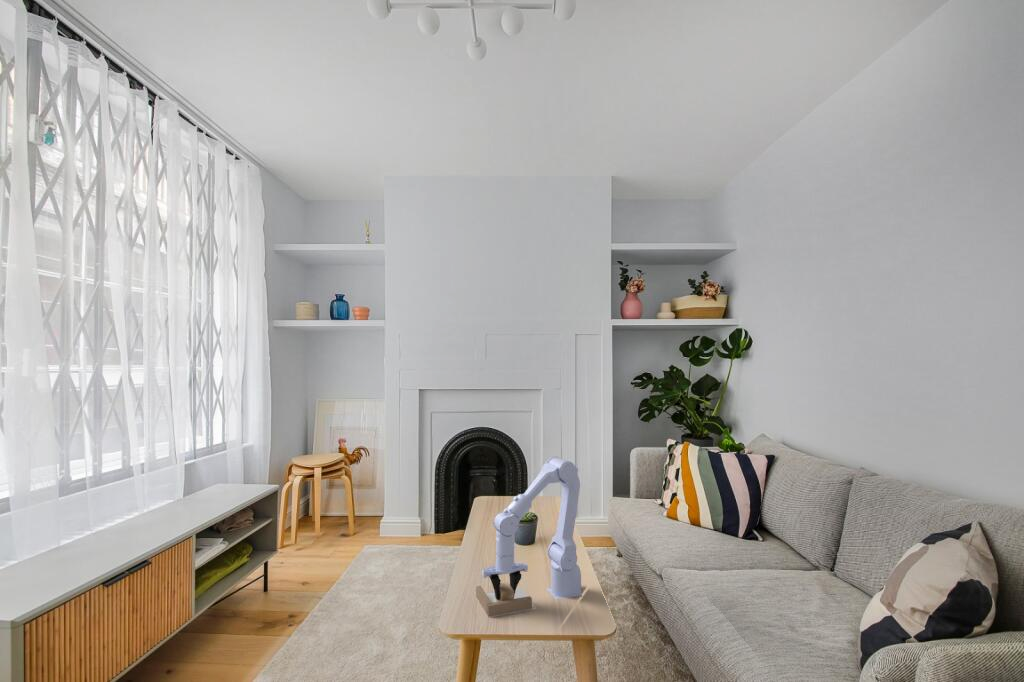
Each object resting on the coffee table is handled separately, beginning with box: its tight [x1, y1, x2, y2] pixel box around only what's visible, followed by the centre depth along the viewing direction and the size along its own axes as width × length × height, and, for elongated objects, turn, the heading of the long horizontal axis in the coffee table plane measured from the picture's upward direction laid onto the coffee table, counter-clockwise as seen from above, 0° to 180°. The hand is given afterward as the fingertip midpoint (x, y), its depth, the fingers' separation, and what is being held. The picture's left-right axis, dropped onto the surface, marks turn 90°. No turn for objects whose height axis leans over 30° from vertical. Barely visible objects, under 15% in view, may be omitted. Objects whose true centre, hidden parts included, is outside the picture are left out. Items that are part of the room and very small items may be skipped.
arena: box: [475, 585, 538, 619], centre depth 155 cm, size 16×14×4 cm
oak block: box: [496, 581, 514, 602], centre depth 154 cm, size 4×6×5 cm, turn 20°
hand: (504, 597), depth 154 cm, fingers open, 4 cm apart
